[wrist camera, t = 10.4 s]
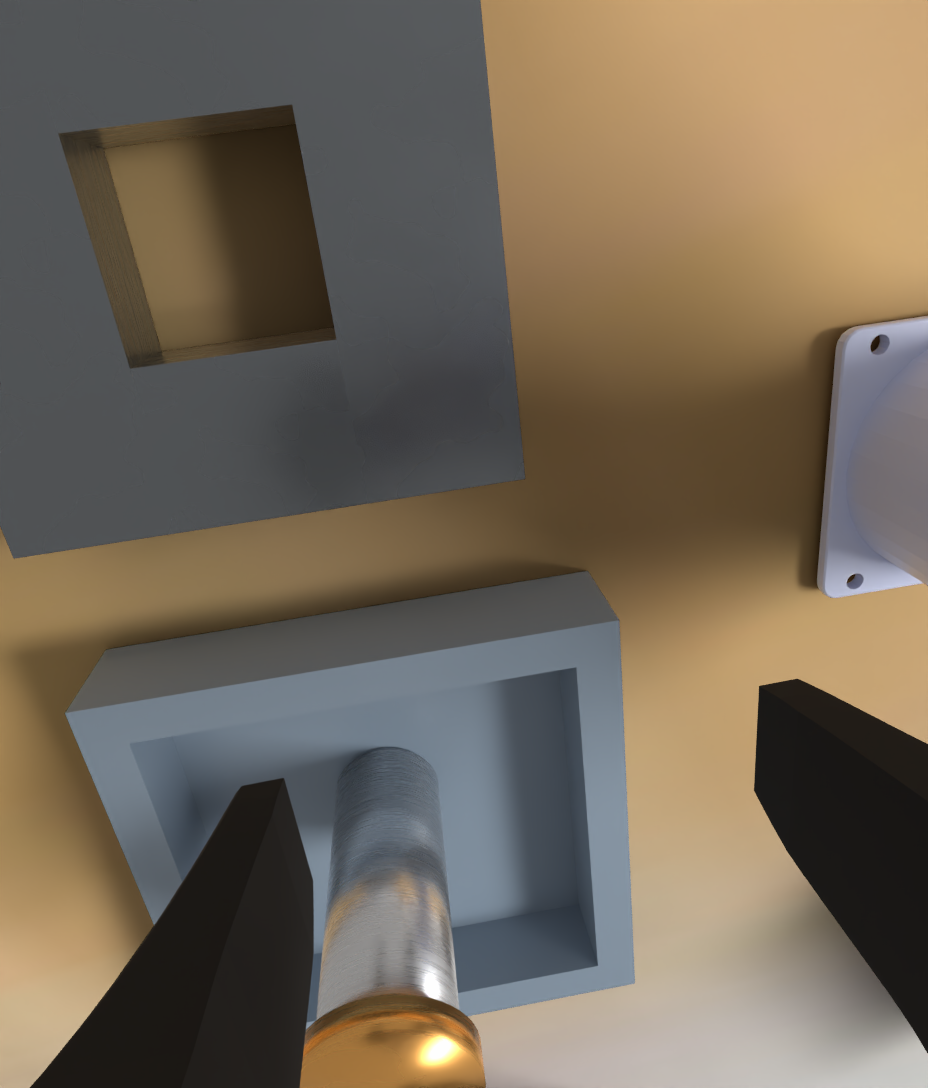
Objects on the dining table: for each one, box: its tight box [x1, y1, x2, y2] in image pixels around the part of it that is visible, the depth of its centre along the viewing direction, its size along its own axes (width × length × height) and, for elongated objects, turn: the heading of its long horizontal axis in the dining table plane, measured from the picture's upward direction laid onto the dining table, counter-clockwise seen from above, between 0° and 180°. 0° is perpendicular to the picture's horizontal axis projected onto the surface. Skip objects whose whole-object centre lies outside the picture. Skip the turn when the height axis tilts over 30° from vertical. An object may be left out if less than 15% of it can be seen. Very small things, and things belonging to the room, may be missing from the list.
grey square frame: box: [0, 0, 525, 558], centre depth 16 cm, size 12×12×2 cm
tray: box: [65, 571, 635, 1030], centre depth 22 cm, size 14×14×3 cm
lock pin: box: [300, 748, 486, 1088], centre depth 19 cm, size 4×4×9 cm
